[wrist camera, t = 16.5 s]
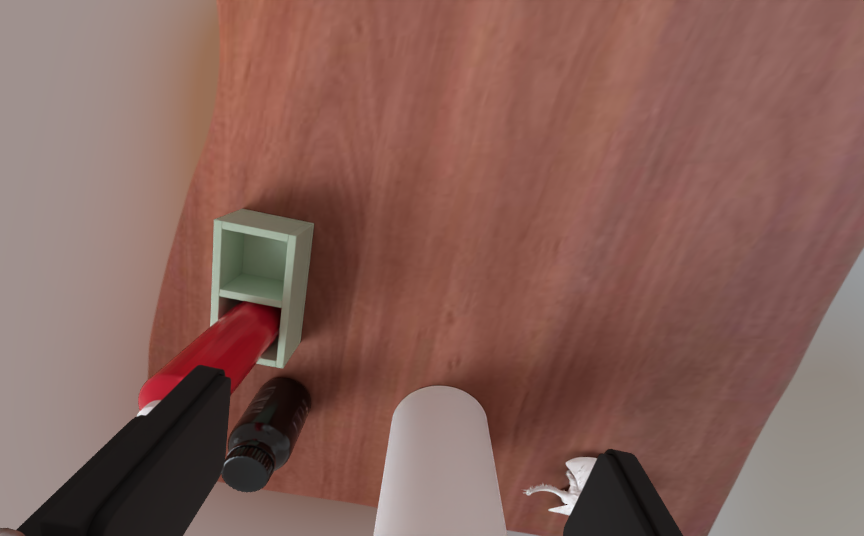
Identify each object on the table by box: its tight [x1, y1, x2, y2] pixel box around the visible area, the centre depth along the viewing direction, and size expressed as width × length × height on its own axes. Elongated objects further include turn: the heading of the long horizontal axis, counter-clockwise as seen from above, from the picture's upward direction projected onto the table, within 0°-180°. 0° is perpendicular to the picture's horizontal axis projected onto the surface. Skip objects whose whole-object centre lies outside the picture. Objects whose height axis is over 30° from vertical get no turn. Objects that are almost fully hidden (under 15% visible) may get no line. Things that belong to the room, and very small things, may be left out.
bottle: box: [137, 300, 282, 416], centre depth 37 cm, size 5×5×20 cm
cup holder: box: [210, 209, 314, 368], centre depth 43 cm, size 8×15×6 cm, turn 168°
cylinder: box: [374, 386, 507, 536], centre depth 40 cm, size 12×12×25 cm
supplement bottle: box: [221, 378, 311, 492], centre depth 45 cm, size 7×7×12 cm
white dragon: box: [525, 457, 597, 515], centre depth 53 cm, size 18×10×4 cm, turn 79°
